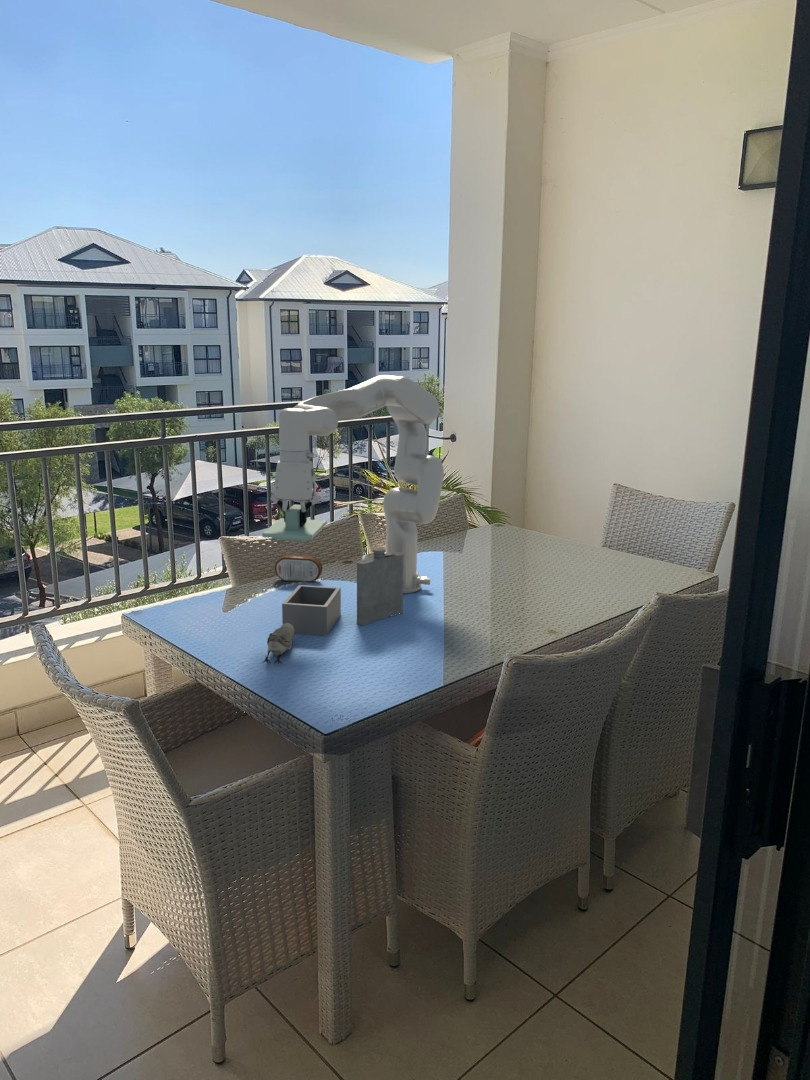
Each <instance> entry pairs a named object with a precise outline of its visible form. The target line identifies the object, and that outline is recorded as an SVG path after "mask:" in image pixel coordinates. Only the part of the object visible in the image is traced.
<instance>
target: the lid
mask: <svg viewBox="0 0 810 1080" xmlns="http://www.w3.org/2000/svg"><path fill="white" fill-rule="evenodd" d="M300 512H301V505H300V504H293V505H292V506H290V508H289V509H288V510H287V511H285V522H284V517H283V518H278V520H276V521H275V522H274V523H273V524H272V525H270V526H269V527H268V528H267V529H265V531H262V533H261V535H262V538H271V540H277V541H279V540H280V541H298V542H308V541H309V540H313V539H314V538H315V537H317V535H318V534H319V533H320V532H321V531H322V530H323V529H324V527H325V526H326V525H327V524H328V522H327V520H324V519H323V520H322V519H307V522H306V523H305V525H304V526H303V527H300Z"/></svg>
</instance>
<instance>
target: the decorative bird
mask: <svg viewBox="0 0 810 1080" xmlns="http://www.w3.org/2000/svg"><path fill="white" fill-rule="evenodd" d="M295 634H296V633H295V630H294V627H293V626H292V625H291V624H289V623H285V624H283V623H282V624H281V626H280V627H278V628H277V629H275V630H274V631H273V632H271V633H269V635H268V637H267V639H266V640H267V641H266V644H267V655H265V659H264V660H263V661H262V663H265V662H266V664H267V665H268V664H272V663H271V661H270V660H269V657H270V656H269V655H270V653H271V654H273V655H274V656H276V661H274V663H273V664H274V665H275V664H276V663H278V664H279V665H280V664H281V665H283V662H282V661H281V660H280V657H281V655H282V654H284V653H285V652H286V651H289V650H291V648H292V645H293V644H292V641H293V639H294V637H295Z"/></svg>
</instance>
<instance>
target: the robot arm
mask: <svg viewBox="0 0 810 1080" xmlns="http://www.w3.org/2000/svg"><path fill="white" fill-rule="evenodd" d="M384 407H387V412H388V413H389V415H390V417H391V418H392V419H393V421H394V423H395V424H396V425H395V426H396V427H397V429H398V443H397V450H396V455H395V460H394V461H395V462H394V467H393V468H394V469H393V474H394V478H395V479H396V480H397V481H398V482H401V483H403V484H408V485H412V486H417V490H416V489H414V488H409V487H402V486H401V487H400V486H397V487H393V488H392V487H391V488H390V489H389V490H388V491H387V492H386V493H385V494H384V497H383V503H382V505H383V513H384V517H385V525H386V526H385V527H386V533H385V535H386V538H385V540H386V541H385V542H386V543H385V549H386V552H385V553H394V552H401V553H404V568H403V594H412V593H416V592H418V591H420V590H421V589H422V585H427V586H430V585H431V578H428V576H421V575H419V571H417V567H418V566H417V564H418V562H417V561H418V557H417V556H418V528H417V526H416V525H417V524H421V525H426V524H427V525H428V524H430V523H432V522H433V521H434V519H435V518H436V516H437V513H438V510H439V506H440V501H441V494H442V489H443V483H444V476H445V471H444V465H443V463H442V461H441V460H440V458H438V457H436V456H434V455H430V454H426V453H427V452H426V451H427V441H428V433H427V430H426V428H425V424H427V425H428V424H431V423H432V422H434V421H435V420H436V419H437V418H438V416H439V413H440V404H439V401H438V400H437V398H436V396H434V394H432V393H431V392H429V391H428V390H426V389H425V387H422V386H421V385H420V384H418V383H417V382H415V381H414V380H412V379H410V378H409V377H407V376H404V375H389V374H379V375H377V376H374V377H371V378H370V379H367V380H365V381H363V382H360V383H358V384H356V385H353V386H352V387H349V388H346V389H341V390H336V391H333V392H330V393H326V394H325V393H324V394H321V395H317V396H314V397H311V398H309V399H306V400H304V401H301V402H299V403H297V404H296V405H295V406H293V407H288V408H283V409H281V410H280V412H279V413H278V427H279V428H278V432H279V433H278V435H279V439H278V440H279V460H278V461H277V464H276V468H275V469H276V470H275V475H274V477H275V478H274V479H275V480H274V490H273V492H272V494H271V496H270V500H271V502H273V503H275V504H277V505H278V507H280V508H281V510H282V511H283V518H284V522H285V511H287V510H288V509H289V508H290V507H291V506H290V505H291V501H299V503H300V504H299V505H301V512H300V527H303V526H304V525H305V523H306V522H307V520H308V519H307V516H308V515H307V510H309V509H310V508H311V506H314V505H316V504H317V503H319V502H320V498H319V495H318V494H317V492H316V491H317V490H316V477H315V469H314V464H313V461H310V459H314V458H315V452H311V451H310V444H309V443H310V441H309V439H310V436H320V437H325V436H329V435H331V434H333V433H334V432H335V431H336V429H337V428H338V425H339V420H340V421H341V420H353V419H354V420H355V419H360V418H363V417H365V416H367V415H369V414H370V413H373V412H376V411H377V410H379V409H382V408H384ZM311 499H312V500H311Z"/></svg>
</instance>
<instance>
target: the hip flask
mask: <svg viewBox="0 0 810 1080" xmlns="http://www.w3.org/2000/svg"><path fill="white" fill-rule="evenodd" d="M372 552H373V556H370V557H367V558H363V559H360V560H358V561H356V624H357V625H358V624H359V625H358V626H366V625H369V624H372V623H373V622H376V621H380V620H382V619H381V618H383V619H385V618H384V617H386V618H388V617H387V616H390V617H392V616H391V615H395V614H399V613H402V614H403V611H404V610H403V609H404V608H403V607H404V605H403V604H404V593H403V568H404V553H401V552H394V553H386V547H379V546H378V547H376V546H375V547H373V548H372ZM395 616H396V615H395ZM379 619H380V620H379Z"/></svg>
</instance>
